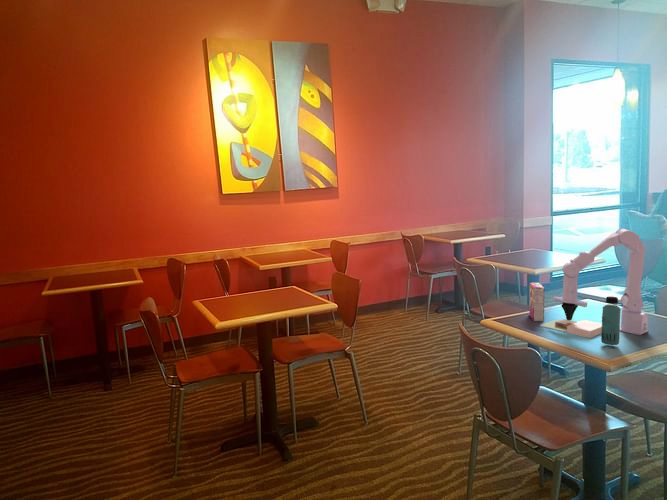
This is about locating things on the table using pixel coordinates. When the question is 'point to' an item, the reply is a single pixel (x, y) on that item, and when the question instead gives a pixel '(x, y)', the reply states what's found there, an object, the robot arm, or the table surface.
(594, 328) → the pale pink flat block
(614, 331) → the beverage bottle
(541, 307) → the candy bar box
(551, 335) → the table surface
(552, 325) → the mat
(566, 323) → the walnut tile
